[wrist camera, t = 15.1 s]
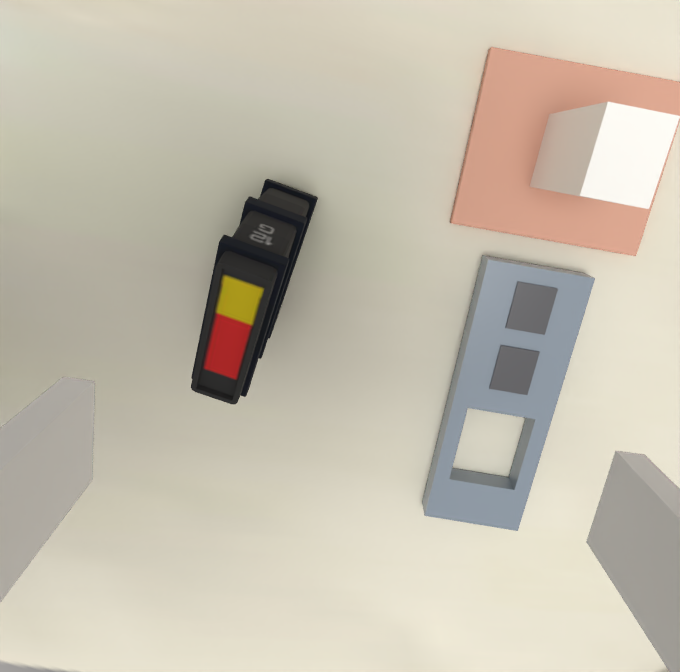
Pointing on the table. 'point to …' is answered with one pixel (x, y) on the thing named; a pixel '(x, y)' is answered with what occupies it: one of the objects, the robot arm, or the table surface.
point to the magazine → (249, 289)
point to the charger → (605, 153)
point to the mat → (524, 144)
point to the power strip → (507, 383)
